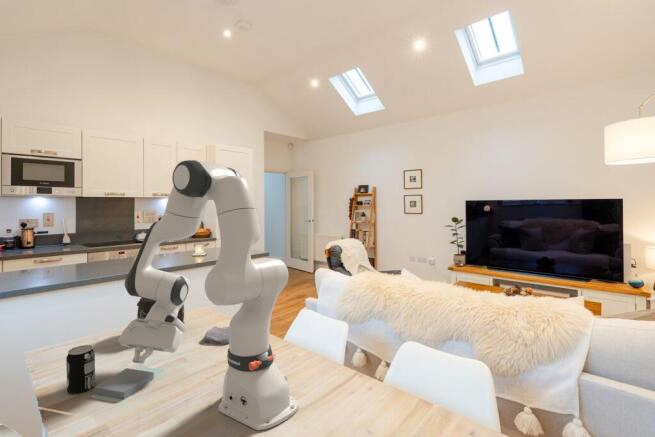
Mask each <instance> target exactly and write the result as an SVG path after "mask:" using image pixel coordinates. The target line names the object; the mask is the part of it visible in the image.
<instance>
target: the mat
mask: <svg viewBox="0 0 655 437" xmlns="http://www.w3.org/2000/svg"><path fill="white" fill-rule="evenodd" d="M134 370H141V371H148V372H154V379H156V378H158V377H159V376H161V375H162V374H164V373H165V372H167V369H163V368H162V369H161V368H155V367H149V366H148V367H147V366H139V367H137V368H136V369H134ZM154 379H153V380H154ZM153 380H151V381H150V382H148V383H147V384H149V383H151V382H152V381H153ZM147 384H146V385H147ZM146 385H144V386H143V387H145V386H146ZM143 387H141V388H140V389H138V390H137V391H136V392H138V391H139V390H141V389H142V388H143ZM136 392H134V393H133V394H135V393H136ZM133 394H131V395H130V396H128V397H127V398H126V399H128V398H129V397H131V396H132V395H133ZM90 398H92V399H97V400H103V401H108V402H113V403H115V402H116V403H122V402H123V401H125V400H126V399H120V398H114V397H108V396H102V395H97V394H95V393H94V394H93V395H92V396H90Z"/></svg>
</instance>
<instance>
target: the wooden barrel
mask: <svg viewBox="0 0 655 437" xmlns="http://www.w3.org/2000/svg"><path fill="white" fill-rule="evenodd" d="M139 298H140V299H139V301H137V303H136V306H137V317H136V319H137V318H140V319H145V318H146V316H147V315H148V313H149V311H150V309H151V308H152V306H153V305H154V304H155V303H156V300H152V299H148V298H144V297H139ZM177 318H178V319H179V320H180V321H181V322H182V323H183V324H184V325H186V323H185V322H184V320H185V303H184V304H183V306H182V307H181V308H180V309H179V311H178V316H177Z"/></svg>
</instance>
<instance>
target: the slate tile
mask: <svg viewBox="0 0 655 437" xmlns="http://www.w3.org/2000/svg"><path fill="white" fill-rule="evenodd" d="M151 380H152V381H154V372H148V371H141V370H135V369H133V368H127V367H126V368H125V369H123V370H121V371H119V372H118V373H116V374H115V375H113V376H111V377H109V378H108V379H106V380H104V381H103V382H101V383H100V384H98V385H96V386H94V395H95V394H97V395H102V396H108V397H114V398H120V399H125V400H127V399H128V398H129V397H131V396H132V395H134V394H135V393H137V392H138V391H139V390H141V389H142V388H144V387H145V386H147V383H148V382H149V383H151V382H152V381H151ZM150 381H151V382H150ZM149 383H148V384H149ZM144 385H145V386H144ZM141 387H142V388H141ZM140 388H141V389H140ZM138 389H139V390H138ZM137 390H138V391H137ZM134 392H135V393H134ZM131 394H132V395H131ZM130 395H131V396H130ZM128 396H129V397H128ZM127 397H128V398H127Z"/></svg>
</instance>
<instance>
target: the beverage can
mask: <svg viewBox="0 0 655 437" xmlns="http://www.w3.org/2000/svg"><path fill="white" fill-rule="evenodd" d="M95 352H96V351H95V350H94V348H93V345H89V344H85V345H79V346H75V347H73V348H70V349H69V350H68V351H67V356H66V357H65V360H66V389H67V390H66V392H67V393H68V394H70V395H79V394H83V393H86V392H88V391H90V390H91V389H94V387H95V385H96V363H95V362H96V357H95V356H96V355H95Z"/></svg>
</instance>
